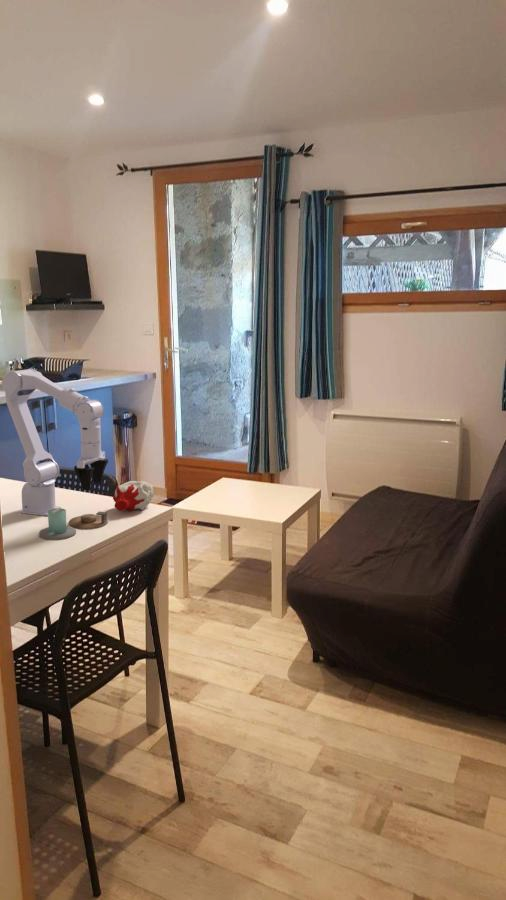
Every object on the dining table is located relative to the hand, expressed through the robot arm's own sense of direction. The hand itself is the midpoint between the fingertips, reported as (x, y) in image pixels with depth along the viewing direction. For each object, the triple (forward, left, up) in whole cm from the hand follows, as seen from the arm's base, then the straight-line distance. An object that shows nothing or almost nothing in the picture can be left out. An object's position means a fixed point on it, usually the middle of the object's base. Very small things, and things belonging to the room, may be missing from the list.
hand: (92, 486), depth 194 cm
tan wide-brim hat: (0, -3, -10) cm, 11 cm away
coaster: (-4, -14, -10) cm, 18 cm away
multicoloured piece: (+7, +12, -11) cm, 18 cm away
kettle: (-4, -14, -10) cm, 17 cm away
